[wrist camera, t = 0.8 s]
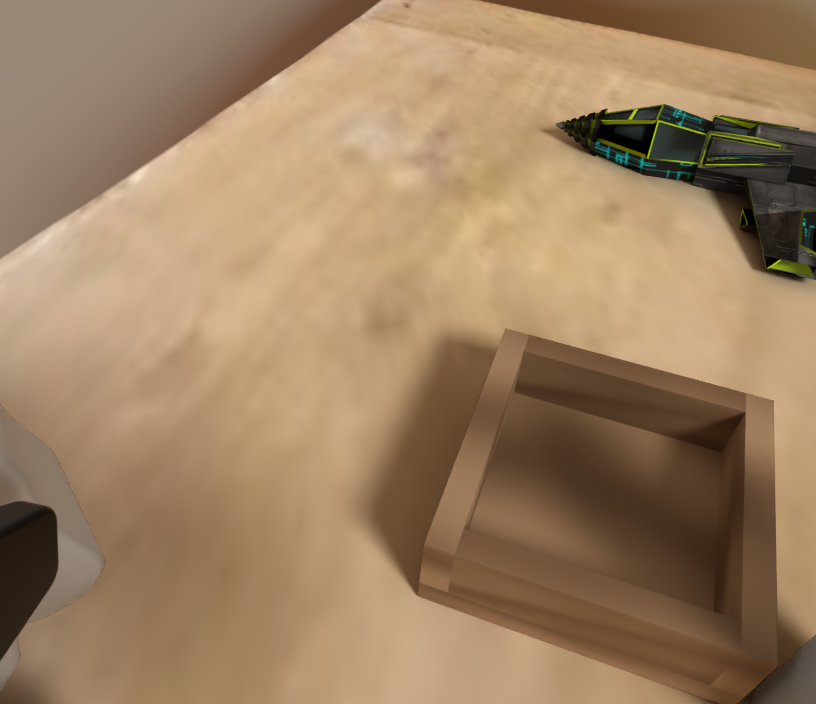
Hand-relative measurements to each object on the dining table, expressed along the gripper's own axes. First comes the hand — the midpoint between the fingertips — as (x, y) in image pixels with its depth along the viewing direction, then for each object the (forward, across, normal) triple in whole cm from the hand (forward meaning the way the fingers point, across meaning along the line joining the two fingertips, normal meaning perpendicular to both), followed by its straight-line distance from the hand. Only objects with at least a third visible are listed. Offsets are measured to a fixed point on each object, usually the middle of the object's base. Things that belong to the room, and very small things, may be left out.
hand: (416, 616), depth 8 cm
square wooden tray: (+18, -5, +8) cm, 20 cm away
